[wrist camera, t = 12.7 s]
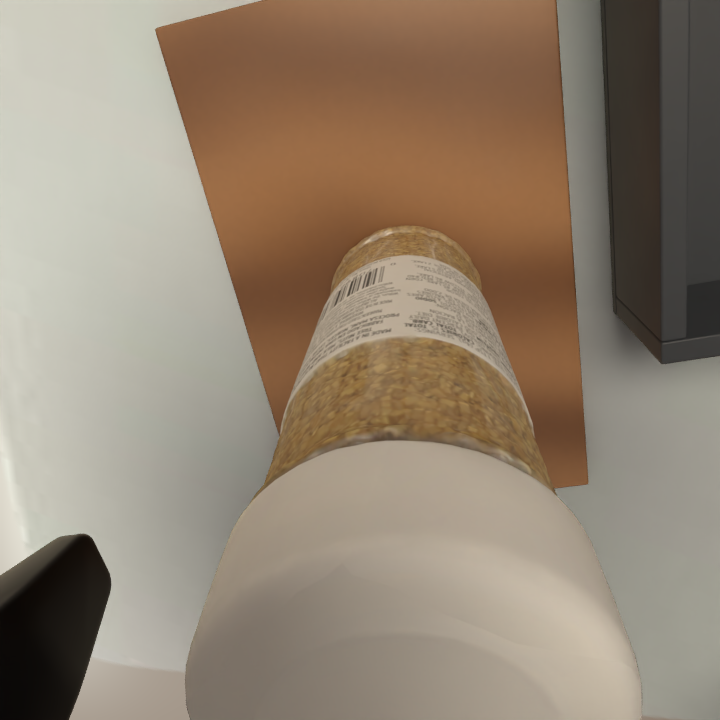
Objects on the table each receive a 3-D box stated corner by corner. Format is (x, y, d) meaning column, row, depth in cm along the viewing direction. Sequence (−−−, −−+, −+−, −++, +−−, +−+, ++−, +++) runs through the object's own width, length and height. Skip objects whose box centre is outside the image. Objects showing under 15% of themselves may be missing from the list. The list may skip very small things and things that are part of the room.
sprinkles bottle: (377, 387, 19) (325, 911, 7) (301, 266, 18) (71, 665, 6) (509, 324, 18) (724, 823, 6) (441, 189, 17) (538, 480, 4)
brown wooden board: (584, 476, 21) (589, 484, 20) (306, 510, 22) (304, 519, 22) (547, -71, 14) (552, -76, 14) (160, 29, 16) (153, 28, 15)
